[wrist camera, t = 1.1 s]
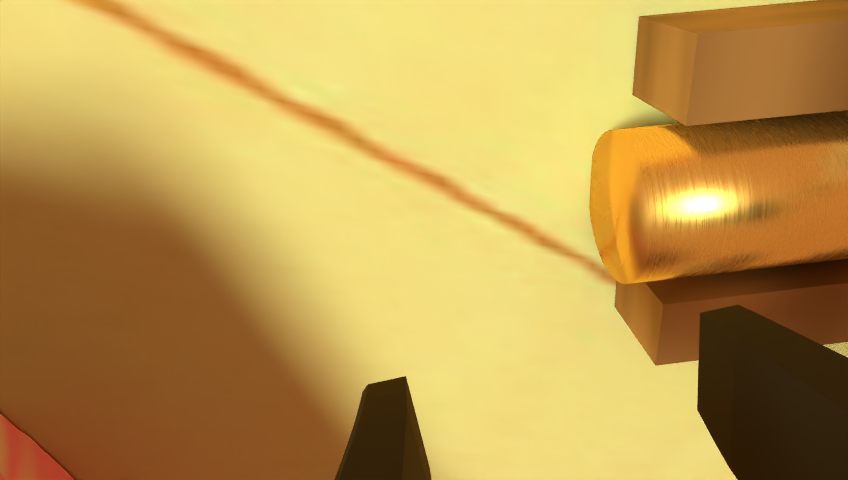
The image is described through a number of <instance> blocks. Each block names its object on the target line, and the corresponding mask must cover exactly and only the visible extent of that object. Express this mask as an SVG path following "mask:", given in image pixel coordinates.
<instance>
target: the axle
mask: <svg viewBox="0 0 848 480" xmlns="http://www.w3.org/2000/svg"><path fill="white" fill-rule="evenodd" d="M589 207H590V216H591V223H592V228H593V233H594V237H595V241H596V245H597V248H598V251H599V254H600V256H601V259H602V261H603V263H604V265H605V267H606V269H607V270H608V272H609V273H610V275H611V276H612V277H613V278H614V279H615V280H616V281H618V282H619V283H622V284H630V283H639V282H648V281H657V280H665V279H674V278H683V277H691V276H700V275H709V274H717V273H726V272H735V271H743V270H752V269H761V268H769V267H778V266H787V265H795V264H804V263H813V262H821V261H830V260H839V259H847V258H848V110H841V111H831V112H821V113H811V114H801V115H791V116H781V117H772V118H762V119H752V120H742V121H732V122H722V123H712V124H702V125H692V126H685V125H683V124H682V123H677V124H667V125H657V126H647V127H637V128H627V129H617V130H609V131H607V132H605V133H604V134H603V135H602V136H601V137H600V138H599V140H598V142H597V144H596V146H595V149H594V152H593V156H592V170H591V187H590V205H589Z"/></svg>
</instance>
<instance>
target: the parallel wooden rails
mask: <svg viewBox="0 0 848 480" xmlns="http://www.w3.org/2000/svg"><path fill="white" fill-rule="evenodd" d="M633 95H634V96H635V97H637V98H639V99H641V100H642V101H644V102H646V103H647V104H649V105H651V106H653V107H654V108H656V109H658V110H659V111H661V112H663V113H664V114H666V115H668V116H670V117H671V118H673V119H675V120H676V121H678V122H680V123H682V124H683V125H685V126H692V125H702V124H712V123H722V122H732V121H742V120H752V119H762V118H772V117H781V116H791V115H801V114H811V113H821V112H831V111H841V110H848V0H817V1H806V2H795V3H784V4H773V5H762V6H751V7H739V8H728V9H717V10H706V11H695V12H684V13H673V14H662V15H651V16H640V17H639V24H638V36H637V47H636V59H635V71H634V83H633ZM733 305H740V306H742V307H745V308H747V309H749V310H751V311H753V312H756V313H758V314H760V315H762V316H764V317H766V318H768V319H770V320H772V321H774V322H776V323H778V324H780V325H782V326H784V327H786V328H788V329H790V330H793V331H795V332H797V333H799V334H801V335H803V336H805V337H807V338H809V339H811V340H813V341H815V342H817V343H819V344H821V345H825V344H833V343H841V342H848V258H847V259H839V260H830V261H821V262H813V263H804V264H795V265H787V266H778V267H769V268H761V269H752V270H743V271H735V272H726V273H717V274H709V275H700V276H691V277H683V278H674V279H665V280H657V281H648V282H639V283H630V284H622V283H619V282H618V281H617V284H616V296H615V308H616V309H617V311H618V312H619V313H620V315H621V316H622V318H623V319H624V321H625V322H626V324H627V325H628V326H629V328H630V329H631V331H632V332H633V334H634V335H635V337H636V338H637V339H638V341H639V342H640V344H641V345H642V347H643V348H644V350H645V351H646V352H647V354H648V355H649V357H650V358H651V360H652V361H653V363H654V364H655V365H663V364H671V363H679V362H687V361H696V360H699V330H700V313H701V312H706V311H710V310H715V309H720V308H724V307H729V306H733Z"/></svg>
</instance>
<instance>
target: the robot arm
mask: <svg viewBox="0 0 848 480" xmlns="http://www.w3.org/2000/svg"><path fill="white" fill-rule="evenodd" d="M697 410H698V412H699V414H700V415H701V417H702V419H703V421H704V423H705V425H706V427H707V429H708V430H709V432H710V434H711V436H712V438H713V440H714V442H715V443H716V445H717V447H718V449H719V450H720V452H721V454H722V456H723V457H724V459H725V461H726V463H727V465H728V466H729V468H730V469H731V471H732V472H733V474H734V475H735V476H736V478H737V479H738V480H848V358H847V357H845V356H843V355H841V354H839V353H837V352H835V351H833V350H831V349H829V348H827V347H825V346H823V345H821V344H819V343H817V342H815V341H813V340H811V339H809V338H807V337H805V336H803V335H801V334H799V333H797V332H795V331H793V330H790V329H788V328H786V327H784V326H782V325H780V324H778V323H776V322H774V321H772V320H770V319H768V318H766V317H764V316H762V315H760V314H758V313H756V312H753V311H751V310H749V309H747V308H745V307H742V306H740V305H733V306H729V307H724V308H720V309H715V310H710V311H706V312H701V313H700V330H699V367H698V405H697ZM335 480H431V474H430V468H429V464H428V460H427V456H426V452H425V448H424V445H423V441H422V437H421V433H420V429H419V425H418V421H417V418H416V414H415V410H414V406H413V402H412V398H411V394H410V391H409V387H408V383H407V379H406V376H405V377H400V378H396V379H391V380H386V381H382V382H377V383H372V384H368V385H367V387H366V388H365V389H364V391H363V393H362V397H361V401H360V405H359V409H358V413H357V416H356V420H355V423H354V426H353V429H352V433H351V436H350V439H349V442H348V445H347V447H346V450H345V453H344V456H343V459H342V462H341V464H340V467H339V469H338V472H337V475H336V477H335Z"/></svg>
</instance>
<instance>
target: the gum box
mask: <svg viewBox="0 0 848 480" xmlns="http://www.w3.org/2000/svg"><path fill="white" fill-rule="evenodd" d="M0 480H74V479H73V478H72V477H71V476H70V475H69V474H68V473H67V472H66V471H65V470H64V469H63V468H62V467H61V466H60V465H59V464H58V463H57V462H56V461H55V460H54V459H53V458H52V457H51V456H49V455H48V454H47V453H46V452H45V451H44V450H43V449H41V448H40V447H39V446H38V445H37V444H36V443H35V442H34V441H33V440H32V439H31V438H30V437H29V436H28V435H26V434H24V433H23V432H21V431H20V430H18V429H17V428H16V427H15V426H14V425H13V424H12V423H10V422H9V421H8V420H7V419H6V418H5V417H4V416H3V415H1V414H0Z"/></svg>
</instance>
